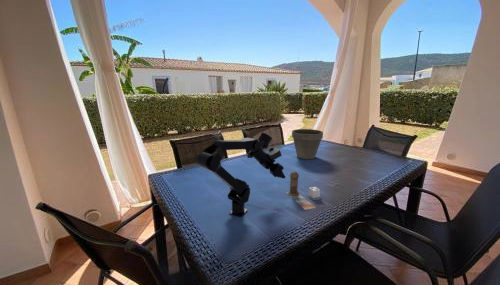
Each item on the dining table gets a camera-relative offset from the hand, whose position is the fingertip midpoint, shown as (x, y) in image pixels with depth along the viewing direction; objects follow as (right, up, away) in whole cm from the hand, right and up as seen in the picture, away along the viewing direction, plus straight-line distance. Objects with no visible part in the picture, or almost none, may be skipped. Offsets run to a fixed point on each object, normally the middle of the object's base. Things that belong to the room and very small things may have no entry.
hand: (280, 174), depth 115 cm
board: (+10, -13, 0) cm, 17 cm away
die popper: (+18, -13, +2) cm, 22 cm away
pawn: (+8, -11, +6) cm, 15 cm away
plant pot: (+31, +4, +70) cm, 77 cm away
